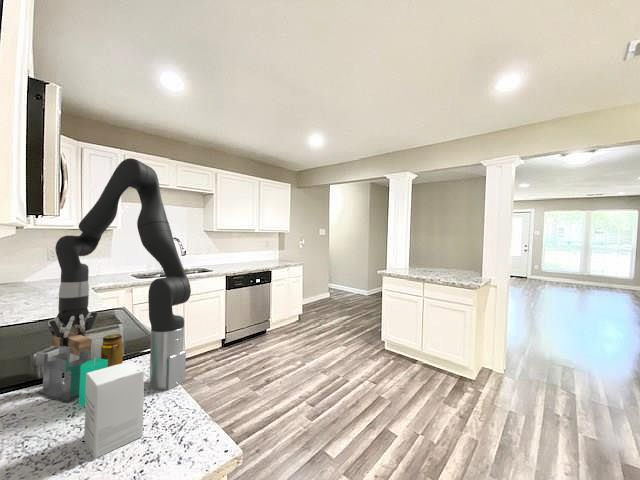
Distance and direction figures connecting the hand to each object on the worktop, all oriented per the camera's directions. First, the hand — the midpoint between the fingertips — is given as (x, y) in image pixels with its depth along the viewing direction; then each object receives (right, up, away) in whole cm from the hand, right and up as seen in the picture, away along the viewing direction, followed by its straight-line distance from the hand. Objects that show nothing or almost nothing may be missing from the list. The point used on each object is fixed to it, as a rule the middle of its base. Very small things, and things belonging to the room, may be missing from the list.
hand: (72, 345), depth 93 cm
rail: (-1, -1, 0) cm, 1 cm away
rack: (+9, -9, -13) cm, 18 cm away
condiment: (+12, -10, +3) cm, 16 cm away
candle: (+20, -9, -16) cm, 27 cm away
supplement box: (+37, -9, -31) cm, 49 cm away
